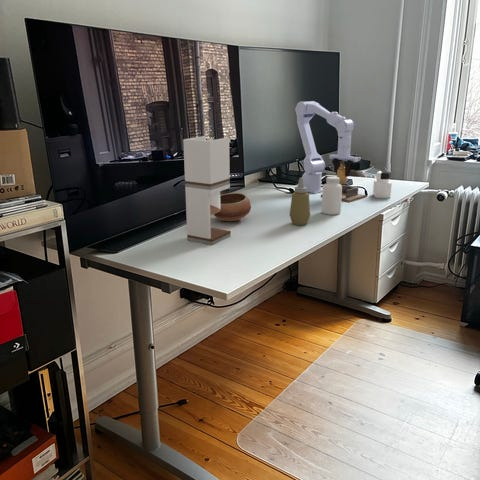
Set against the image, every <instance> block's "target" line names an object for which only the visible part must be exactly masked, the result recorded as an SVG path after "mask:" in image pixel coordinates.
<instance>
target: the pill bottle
mask: <svg viewBox="0 0 480 480" xmlns="http://www.w3.org/2000/svg"><path fill="white" fill-rule="evenodd" d="M339 181H340V178H339V177H337V176H327V177H326V181H325V182H326V183H324V184H323V186H322V190H323V191H322V192H321V193H322V194H321V195H322V197H321V213H322V214H325V215H329V216H336V215H340V214H341V212H342V211H341V210H342V201H341V198H342V186H341V185H342V184H338V183H339Z"/></svg>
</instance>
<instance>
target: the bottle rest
mask: <svg viewBox="0 0 480 480" xmlns="http://www.w3.org/2000/svg"><path fill="white" fill-rule="evenodd" d="M340 185H341V186H342V198H341V202H347V203H351V202H354V201H355V202H356V201H359V200H361V199H365V198H367V195H366V194H362V193H359V187H356V186H350V185H347V184H340ZM320 195H321V196H320V197H321V198H322V194H320Z"/></svg>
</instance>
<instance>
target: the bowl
mask: <svg viewBox="0 0 480 480" xmlns="http://www.w3.org/2000/svg"><path fill="white" fill-rule="evenodd" d="M220 208H221V210H220V211H219V212H217V213H215V214H213V215H212V216H214V217H215V218H216V219H218V220H220V221H223V222H225V221H226V222H236V221H239V220H241V219H244V217H246V216H248V214H249V213H250V212H251V209H252V204H251V201H250V199H249V197H248V196H247V195H246V194H245V193H243V192H229V193H224V194H223V193H222V194H220Z"/></svg>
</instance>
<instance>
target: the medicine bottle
mask: <svg viewBox="0 0 480 480" xmlns="http://www.w3.org/2000/svg"><path fill="white" fill-rule="evenodd" d="M390 177H391V172H390V171H387V170H379V171H377V172H376V178H375V179H374V180H373V184H372V185H373V186H372V187H373V189H372V195H373V196H374V198H377V199H380V198H381V199H390V198H391V196H392V195H391V193H392V182H391V181H390Z"/></svg>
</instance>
